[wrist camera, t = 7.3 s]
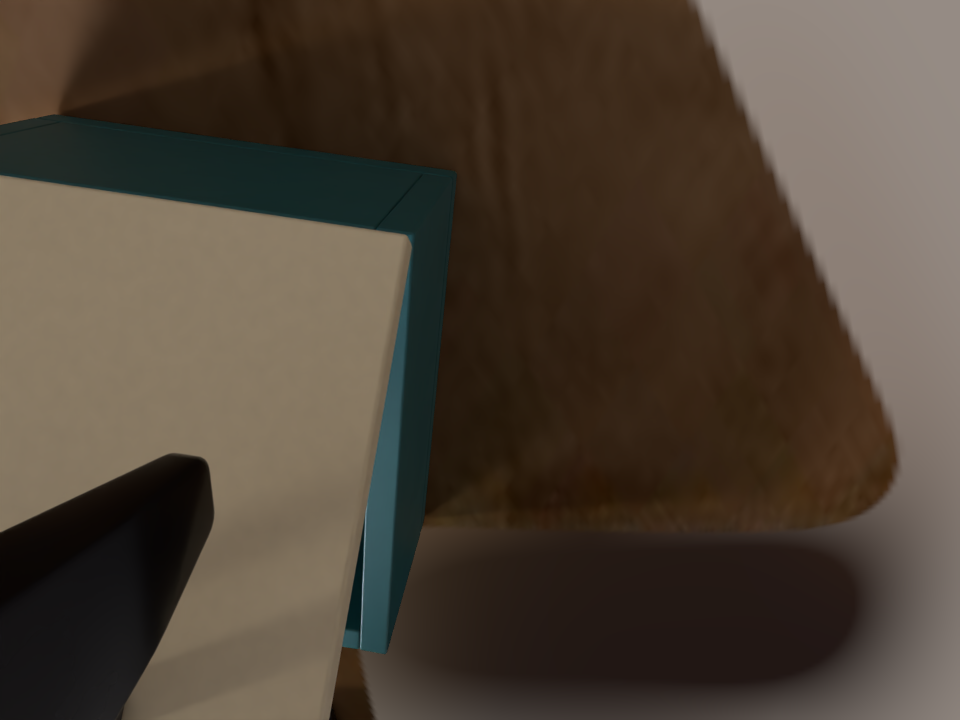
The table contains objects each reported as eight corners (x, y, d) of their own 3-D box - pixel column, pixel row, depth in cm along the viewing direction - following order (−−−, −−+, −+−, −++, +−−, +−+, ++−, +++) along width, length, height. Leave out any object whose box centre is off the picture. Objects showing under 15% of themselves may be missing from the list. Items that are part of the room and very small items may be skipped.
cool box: (424, 519, 24) (386, 655, 19) (118, 468, 25) (2, 587, 20) (457, 170, 18) (415, 232, 13) (53, 113, 19) (-139, 151, 14)
